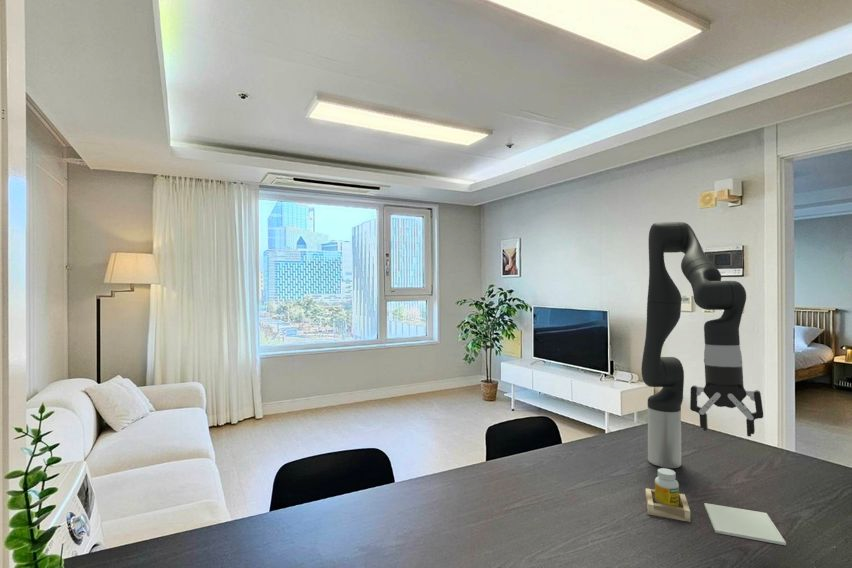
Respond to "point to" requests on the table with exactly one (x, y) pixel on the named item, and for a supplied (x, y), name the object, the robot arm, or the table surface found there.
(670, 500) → the supplement bottle
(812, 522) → the table surface
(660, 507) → the collar
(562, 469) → the table surface
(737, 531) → the coaster plate
